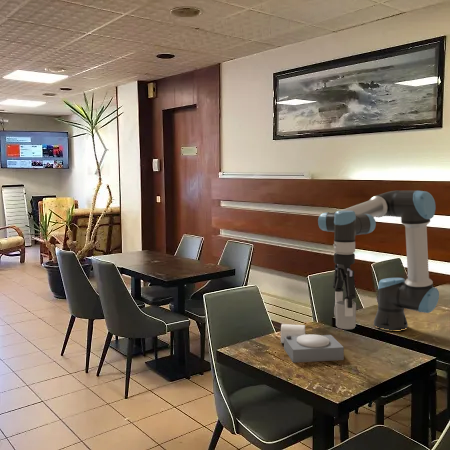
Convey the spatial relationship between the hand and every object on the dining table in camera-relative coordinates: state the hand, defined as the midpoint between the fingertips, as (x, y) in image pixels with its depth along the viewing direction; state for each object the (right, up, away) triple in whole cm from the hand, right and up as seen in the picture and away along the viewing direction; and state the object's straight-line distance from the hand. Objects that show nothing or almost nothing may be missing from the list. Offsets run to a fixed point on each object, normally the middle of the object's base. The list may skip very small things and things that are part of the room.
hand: (343, 312), depth 181 cm
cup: (0, -5, +1) cm, 5 cm away
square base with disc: (-9, -19, +14) cm, 25 cm away
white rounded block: (-15, -18, +29) cm, 37 cm away
